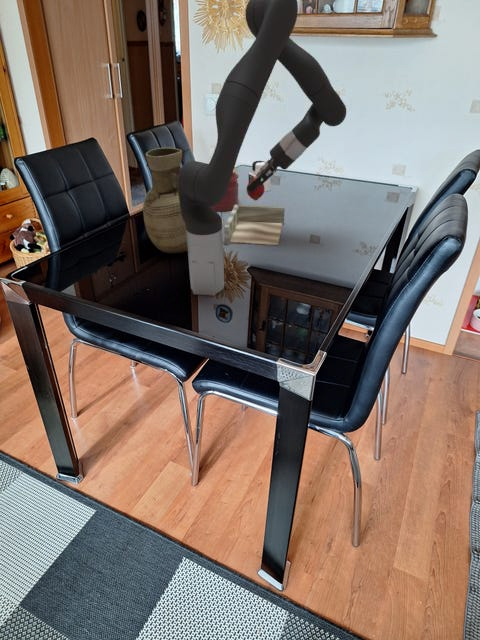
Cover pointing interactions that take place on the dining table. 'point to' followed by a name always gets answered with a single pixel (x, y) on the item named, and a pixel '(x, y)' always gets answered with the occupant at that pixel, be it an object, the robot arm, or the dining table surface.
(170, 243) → the ceramic vessel
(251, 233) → the tray
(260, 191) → the pomegranate
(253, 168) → the medicine bottle
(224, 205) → the canister
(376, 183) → the dining table surface
